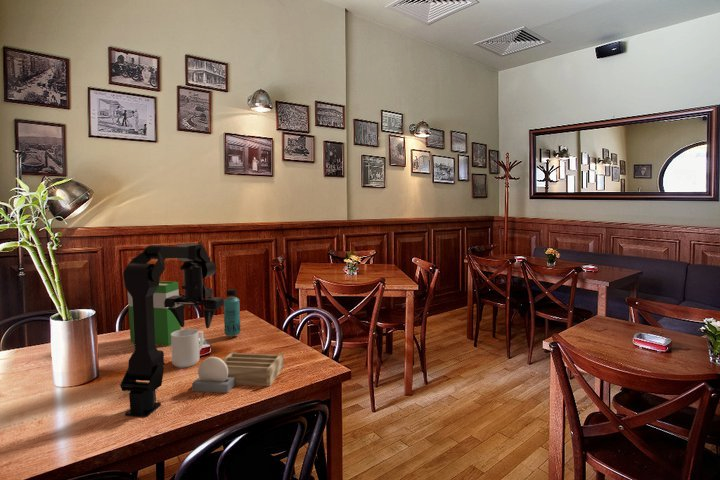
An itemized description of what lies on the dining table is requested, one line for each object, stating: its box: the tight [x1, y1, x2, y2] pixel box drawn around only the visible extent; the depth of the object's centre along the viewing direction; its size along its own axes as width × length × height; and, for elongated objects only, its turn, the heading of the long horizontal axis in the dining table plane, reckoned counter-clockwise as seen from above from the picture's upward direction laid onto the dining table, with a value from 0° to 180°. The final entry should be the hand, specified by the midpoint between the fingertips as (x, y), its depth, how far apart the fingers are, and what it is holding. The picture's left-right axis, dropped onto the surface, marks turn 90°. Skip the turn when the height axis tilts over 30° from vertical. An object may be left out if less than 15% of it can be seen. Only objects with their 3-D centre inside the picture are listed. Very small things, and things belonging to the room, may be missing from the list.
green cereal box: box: [127, 280, 182, 347], centre depth 165 cm, size 18×7×24 cm, turn 77°
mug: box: [170, 328, 204, 369], centre depth 144 cm, size 12×9×11 cm
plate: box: [197, 356, 228, 382], centre depth 123 cm, size 1×9×9 cm, turn 84°
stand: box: [191, 377, 236, 394], centre depth 124 cm, size 5×11×2 cm, turn 84°
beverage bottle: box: [223, 288, 241, 337], centre depth 169 cm, size 6×7×20 cm
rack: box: [222, 350, 285, 387], centre depth 133 cm, size 14×18×5 cm
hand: (195, 327), depth 137 cm, fingers open, 9 cm apart
